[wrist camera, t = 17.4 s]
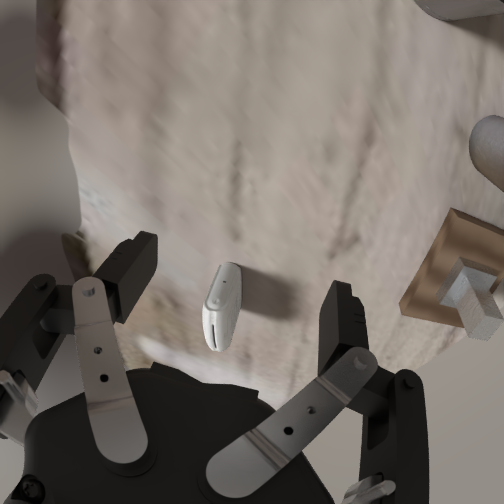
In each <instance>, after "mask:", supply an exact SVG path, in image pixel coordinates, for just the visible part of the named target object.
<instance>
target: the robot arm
mask: <svg viewBox="0 0 504 504" xmlns="http://www.w3.org/2000/svg"><path fill="white" fill-rule="evenodd" d="M414 1H415V2H416V4H417V5H418V6H419V7H420V8H421V9H422V10H424V11H425V12H426V13H427V14H429V15H431V16H432V17H434V18H437V19H440V20H444V21H454V20H460V19H467V18H473V17H480V16H488V15H496V14H504V0H414ZM157 261H158V237H157V235H156V234H153V233H149V232H145V231H140V232H139V233H138V234H137V236H136V237H135V238H134V239H133V240H132V239H127V240H125V241H123V242H121V243H120V244H119V245H118V246H117V247H116V248H115V249H114V250H113V252H112V253H111V254H110V255H109V257H108V258H107V259H106V260H105V261H104V262H103V264H102V265H101V266H100V267H99V269H98V270H97V271H96V272H95V274H94V275H93V276H92V277H86V278H82V279H80V280H78V281H77V282H76V283H75V284H74V285H73V286H70V285H57V284H56V280H55V278H54V277H53V276H51V275H49V274H39V275H36V276H34V277H33V278H32V279H30V281H29V282H28V283H27V284H26V286H25V287H24V288H23V289H22V291H21V292H20V293H19V294H18V296H17V297H16V298H15V300H14V301H13V302H12V303H11V305H10V306H9V308H8V309H7V310H6V312H5V313H4V314H3V316H2V317H1V318H0V438H2V439H8V438H9V439H11V440H13V441H14V442H16V443H18V444H20V445H21V446H23V447H24V451H25V462H24V470H23V475H22V478H21V480H20V482H19V483H18V485H17V486H16V487H15V489H14V490H13V491H12V493H11V494H10V495H9V496H8V497H7V499H6V500H5V501H4V503H3V504H335V503H334V500H333V498H332V497H331V495H330V493H329V492H328V490H327V489H326V487H325V486H324V484H323V483H322V482H321V480H320V478H319V477H318V475H317V474H316V472H315V471H314V469H313V467H312V466H311V464H310V463H309V461H308V460H307V458H306V456H305V455H304V453H303V452H302V450H303V449H304V448H305V447H306V446H307V445H308V444H309V443H310V442H311V441H312V440H313V439H314V438H315V437H316V436H317V435H318V434H319V433H320V432H321V431H322V430H323V429H324V428H325V427H326V426H327V425H328V424H329V423H330V422H331V421H332V420H333V419H334V418H335V417H336V416H337V415H338V414H339V413H340V412H341V411H342V410H343V409H344V408H345V407H347V408H349V409H351V410H354V411H356V412H358V413H360V414H363V427H362V445H361V460H360V472H359V482H358V483H356V484H354V485H352V486H350V487H349V488H348V490H347V491H346V493H345V496H344V499H343V501H342V503H341V504H429V448H428V431H427V419H426V407H425V398H424V389H423V383H422V380H421V379H420V377H419V376H418V375H417V374H416V373H415V372H413V371H411V370H408V369H402V370H400V371H398V372H397V373H396V374H394V373H392V372H390V371H388V370H385V369H383V368H381V367H380V366H379V365H378V362H377V359H376V357H375V356H374V355H373V353H371V352H370V351H369V344H368V335H367V327H366V319H365V311H364V306H363V304H362V303H361V301H360V299H359V298H358V297H354V296H352V289H351V284H349V283H345V282H341V281H337V280H334V281H333V282H332V285H331V287H330V289H329V291H328V293H327V296H326V298H325V300H324V302H323V304H322V307H321V310H320V316H319V351H318V376H317V377H316V378H315V379H314V380H313V381H311V382H310V383H309V384H308V385H307V386H306V387H305V388H303V389H302V390H301V391H300V392H299V393H298V394H296V395H295V396H294V397H293V398H292V399H290V400H289V401H288V402H287V403H286V404H284V405H283V406H282V407H281V408H280V409H278V410H277V411H276V410H275V409H274V408H272V407H271V406H270V405H269V404H267V403H266V402H264V401H262V400H261V399H259V398H258V393H259V391H258V390H254V389H249V388H245V387H241V386H237V385H233V384H208V383H202V382H200V381H198V380H196V379H195V378H193V377H191V376H189V375H187V374H186V373H184V372H182V371H180V370H179V369H175V368H172V367H169V366H166V365H163V364H160V363H157V362H153V364H152V366H151V368H138V369H132V370H128V371H126V372H125V368H124V365H123V361H122V358H121V354H120V350H119V347H118V343H117V339H116V335H115V331H114V327H113V325H114V323H115V322H119V323H122V324H124V323H125V321H126V320H127V318H128V316H129V314H130V313H131V311H132V309H133V308H134V306H135V304H136V303H137V301H138V299H139V298H140V296H141V295H142V293H143V291H144V290H145V288H146V286H147V285H148V283H149V282H150V280H151V278H152V277H153V275H154V273H155V271H156V268H157ZM67 334H73V335H75V340H76V347H77V353H78V360H79V365H80V371H81V376H82V382H83V386H84V391H85V392H83V393H81V394H79V395H76V396H74V397H73V398H70V399H68V400H66V401H64V402H62V403H60V404H58V405H56V406H53V407H51V408H49V409H47V410H45V411H43V412H41V413H39V414H38V415H37V416H36V410H37V407H38V398H37V395H36V394H35V391H36V389H37V388H38V386H39V384H40V382H41V380H42V378H43V376H44V374H45V372H46V370H47V369H48V367H49V365H50V363H51V361H52V359H53V357H54V356H55V354H56V352H57V351H58V349H59V347H60V345H61V343H62V342H63V340H64V338H65V337H66V335H67Z"/></svg>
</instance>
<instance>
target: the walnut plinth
mask: <svg viewBox="0 0 504 504" xmlns="http://www.w3.org/2000/svg"><path fill="white" fill-rule="evenodd" d="M458 257H462V258H465V259H468V260H471V261H474V262H477V263H480V264H482V265H485V266H488V267H491V268H492V269H493V271H494V272H495V274H496V276H497V278H496V280H495V281H494V283H493V284H492V286H491V287H490V289H489V291H490V293H491V295H492V294H493V292H494V291H495V289H496V288H497V286H498V285H499V283H500V282H501V280H502V279H503V277H504V230H502V229H500V228H497V227H495V226H493V225H491V224H488V223H486V222H484V221H482V220H479V219H477V218H475V217H472V216H470V215H468V214H465V213H463V212H460V211H458V210H455V209H453V208H450V210H449V212H448V215H447V217H446V219H445V221H444V223H443V225H442V227H441V229H440V231H439V233H438V235H437V237H436V239H435V241H434V242H433V244H432V246H431V248H430V250H429V252H428V254H427V256H426V257H425V259H424V261H423V263H422V265H421V266H420V268H419V270H418V272H417V273H416V275H415V277H414V279H413V280H412V282H411V284H410V285H409V287H408V289H407V290H406V292H405V294H404V295H403V297H402V299H401V300H400V302H399V306H400V310H401V314H402V315H404V316H409V317H414V318H418V319H423V320H428V321H432V322H437V323H442V324H447V325H451V326H456V327H461V328H464V325H463V322H462V320H461V317H460V315H459V312H458V310H457V308H453V307H449V306H445V305H441V304H439V301H438V299H437V296H436V293H437V291H438V290H439V288H440V287H441V285H442V284H443V282H444V280H445V279H446V277H447V276H448V274H449V272H450V271H451V269H452V267H453V266H454V264H455V262H456V261H457V259H458Z"/></svg>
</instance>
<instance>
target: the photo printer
mask: <svg viewBox="0 0 504 504" xmlns="http://www.w3.org/2000/svg"><path fill="white" fill-rule="evenodd" d="M241 301H242V277H241V269H240V267H238V266H237V265H236V264H233V263H224V264H222V265H220V266H219V267H218V269H217V272H216V274H215V276H214V279H213V281H212V284H211V286H210V288H209V291H208V293H207V296H206V298H205V301H204V304H203V328H204V334H205V339H206V342H207V344H208V346H209V347H210V348H211V349H212V350H213V351H219V352H222V351H225V350H226V349H227V348H228V347H229V346H230V343H231V340H232V336H233V333H234V329H235V326H236V322H237V319H238V315H239V312H240V308H241Z"/></svg>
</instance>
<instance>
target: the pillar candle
mask: <svg viewBox="0 0 504 504" xmlns="http://www.w3.org/2000/svg"><path fill="white" fill-rule="evenodd" d="M469 151H470V157H471V160H472V162H473V165H474V166H475V168H476V169H477V170H478V171H479V172H480V173H481V174H483V175H484V176H485V177H486V178H487V179H488V180H490V181H491V182H492V183H493V184H494V185H496V186H497V187H498V188H499V189H500V190H502V191H503V192H504V118H503V117H500V116H496V115H491V116H488V117H486V118H484V119H482V120H481V121H479V122H478V123H477V124H476V126H475V127H474V129H473V130H472V133H471V136H470V141H469Z"/></svg>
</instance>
